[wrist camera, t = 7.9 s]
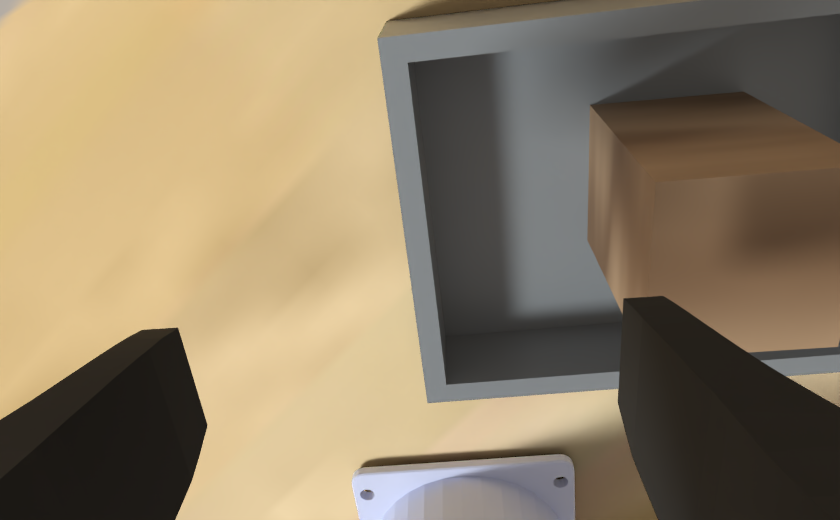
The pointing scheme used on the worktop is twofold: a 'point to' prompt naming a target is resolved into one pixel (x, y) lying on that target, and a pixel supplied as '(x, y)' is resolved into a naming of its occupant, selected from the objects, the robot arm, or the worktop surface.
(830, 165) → the walnut block
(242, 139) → the worktop surface
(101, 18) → the worktop surface
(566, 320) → the bin
